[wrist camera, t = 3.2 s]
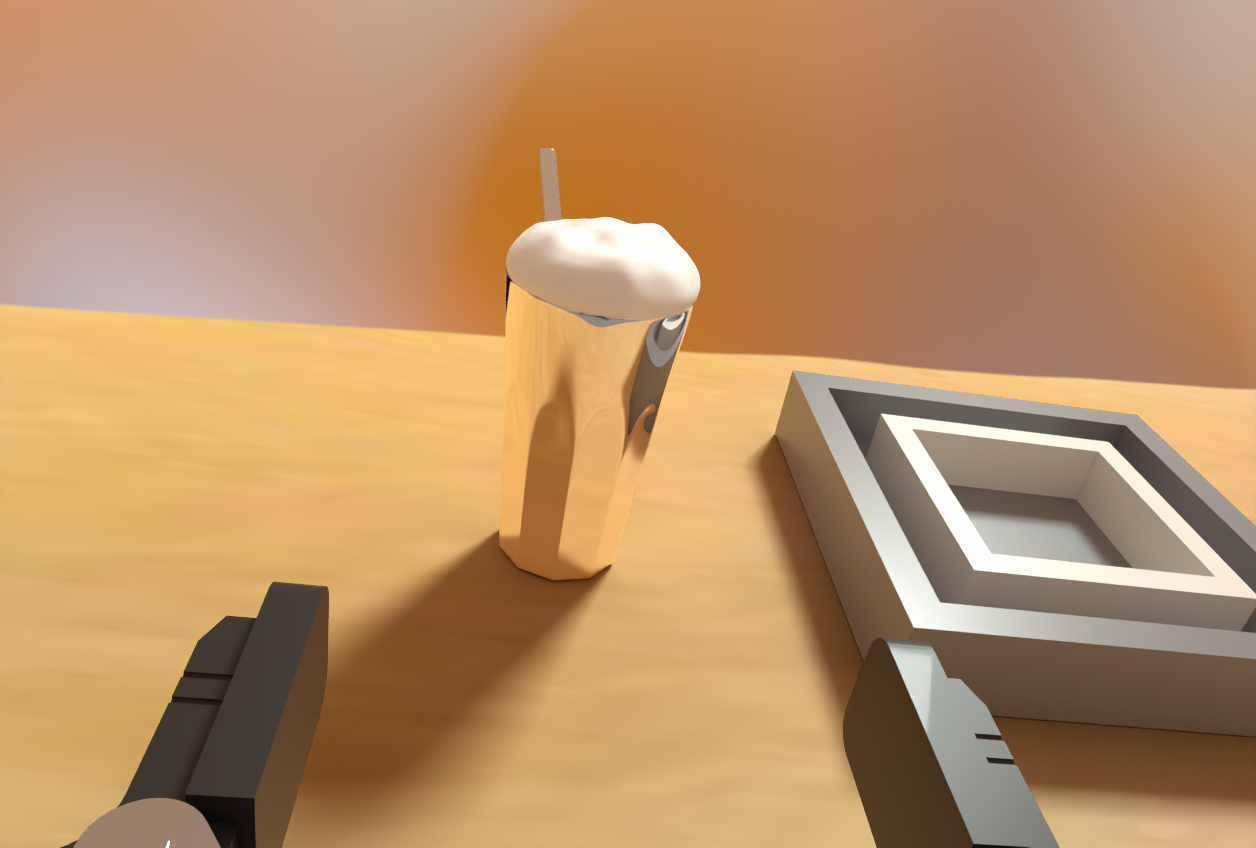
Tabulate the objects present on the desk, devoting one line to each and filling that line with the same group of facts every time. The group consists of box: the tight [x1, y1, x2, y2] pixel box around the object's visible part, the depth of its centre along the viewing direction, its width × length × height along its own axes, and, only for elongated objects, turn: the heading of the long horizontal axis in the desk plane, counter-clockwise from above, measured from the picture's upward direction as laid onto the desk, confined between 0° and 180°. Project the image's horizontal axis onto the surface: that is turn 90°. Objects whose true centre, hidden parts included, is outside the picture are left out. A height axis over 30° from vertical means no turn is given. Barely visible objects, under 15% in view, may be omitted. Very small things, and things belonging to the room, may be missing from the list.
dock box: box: [775, 371, 1256, 737], centre depth 29 cm, size 13×13×2 cm
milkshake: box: [499, 148, 700, 580], centre depth 24 cm, size 4×5×10 cm
